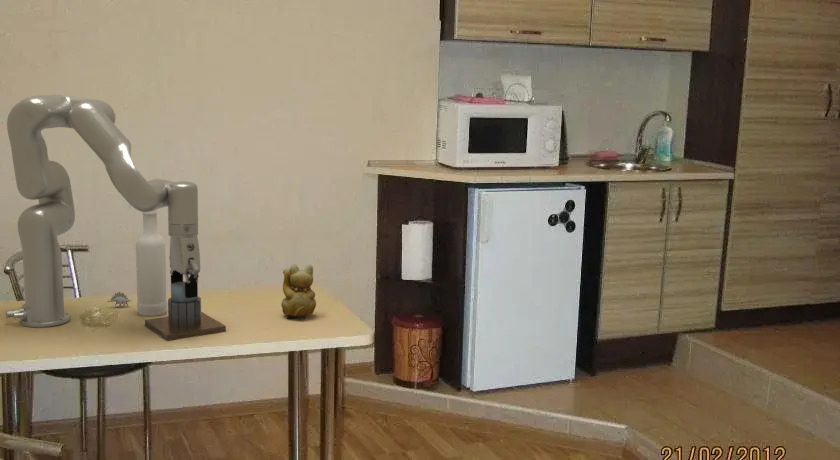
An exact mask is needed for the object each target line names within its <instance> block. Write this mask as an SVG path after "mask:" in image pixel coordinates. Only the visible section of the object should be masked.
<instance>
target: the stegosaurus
mask: <svg viewBox="0 0 840 460" xmlns="http://www.w3.org/2000/svg"><path fill="white" fill-rule="evenodd" d="M106 302H107V303H114V307H115V308H116V307H117V305H119V306H120V309H123V307H124V309H125V308H126V306H129V304H128V303H129V302H132V300H131V299H130V298H129V297H128V296H127V295H126V294H125V293H123V292H120V291H118V292H117V293H116V292H114V294H113V295H112V296H111V298H110V299H107V301H106ZM122 305H123V307H122Z"/></svg>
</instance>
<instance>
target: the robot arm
mask: <svg viewBox="0 0 840 460" xmlns="http://www.w3.org/2000/svg"><path fill="white" fill-rule="evenodd" d="M115 122H116V113H115V110H114V108H113V107H112V106H111V105H110V104H109V103H108V102H106V101H104V100H102V99H101V100H99V99H91V98H83V97H75V96H70V95H69V96H68V95H62V94H61V95H60V94H50V95H48V94H47V95H46V94H45V95H44V94H43V95H33V96H30V97H27V98H23V99H21V100H20V101H18V102H17V103H16V104H15V105H14V106H13V107H12V108H11V109H10V111H9V114H8V116H7V120H6V130H7V135H8V139H9V145H10V148H11V156H12V158H11V159H12V163H13V171H14V176H15V181H16V183H15V184H16V188H17V191H18V193H19V194H20V195H21V196H22V197H23V198H24V199H26V200H31V201H33V200H34V201H35V200H37V201H38V203H37V204H35V205H31V206H29V207H27V208H25V209H24V210H23V211H22V212H21V213H20V216H19V217H18V220H17V232H18V237H19V241H20V245H21V253H22V267H23V289H24V304H21V306H22V307H19V308H18V309H9V310H5V316H6V317H5V318H6V319H9V318H13V319H19V324H20V325H22V326H25V327H29V328H47V327H53V326H54V327H55V326H59V325H63V324H65V323H68V322H69V321H70V320H71V316H72V315H71V314H70V313H69V312H67V311H65V299H64V298H65V297H64V278H63V277H64V276H63V275H64V274H63V273H64V272H63V257H62V250H61V246H60V243H59V240H58V236H60V235H63V234H65V233H67V232H68V231H70V230H71V229H72V228H73V226H74V223H75V220H76V212H75V211H76V210H75V204H74V198H73V191H72V185H71V180H70V179H71V178H70V176H69V173H68V172H67V170H66V168H65V167H64V166H63V165H62V164H60V163H59V162H57V161H55V160H50V158H49V154H48V148H47V147H48V146H47V143H46V140H45V139H44V136H43V135H42V131H43V130H45V129H54V128H66V129H67V128H68V129H73V130H74V131H75V132H76V133H77V134H78V135H79V137H80V138H81V139H82V140H83V141H84V142H85V144H87V146H88V147H90V149H91V150H92V151H93V152H94V154H95V155H96V156H97V157H98V158H99V159H100V161H101V162H102V163H103V165H104V167H105V169H106V170H105V171H106V172H107V174H108V176H109V179H110V181H111V183H112V185H113V187H114V188H115V189H116V190H117V192H118V193H119V194H120V195H121V196H122V197H123V198H124V199H125V201H126V202H127V203H128V204H129V205H130V206H131V207H132V208H134V209H135V210H137V211H138V212H140V213H141V212H151V211H153V210H156V209H157V210H158V209H162V208H166V207H167V217H168V218H167V224H168V225H167V226H168V227H167V229H168V233H167V235H168V236H169V256H168V257H169V267H170V270H169V273H170V285H171V284H172V283H175V282H183V281H184V278H185V281H186V282H187V283H185V297H186V298H192V297H197V296H198V297H199V294H198V293H199V292H198V291H199V290H198V289H199V288H198V283H199V277H200V276H199V273H200V272H201V256H200V253H201V252H200V245H199V238H198V236H199V199H198V198H199V197H198V196H199V190H198V186H197V184H196V183H195V182H191V181H171V180H166V179H160V178H155V179H151V180H147V179H146V178H145V177H144V176H143V175H142V174H141V172H140V171H139V170H138V169H137V167H136V166H135V164H134V162H133V159H132V144H131V142H130V140H129V138H127V137H126V135H125V134H123V133H124V132H122V131H121V130H120V129H119V128H118V127H117V126H116V125H115Z"/></svg>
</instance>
